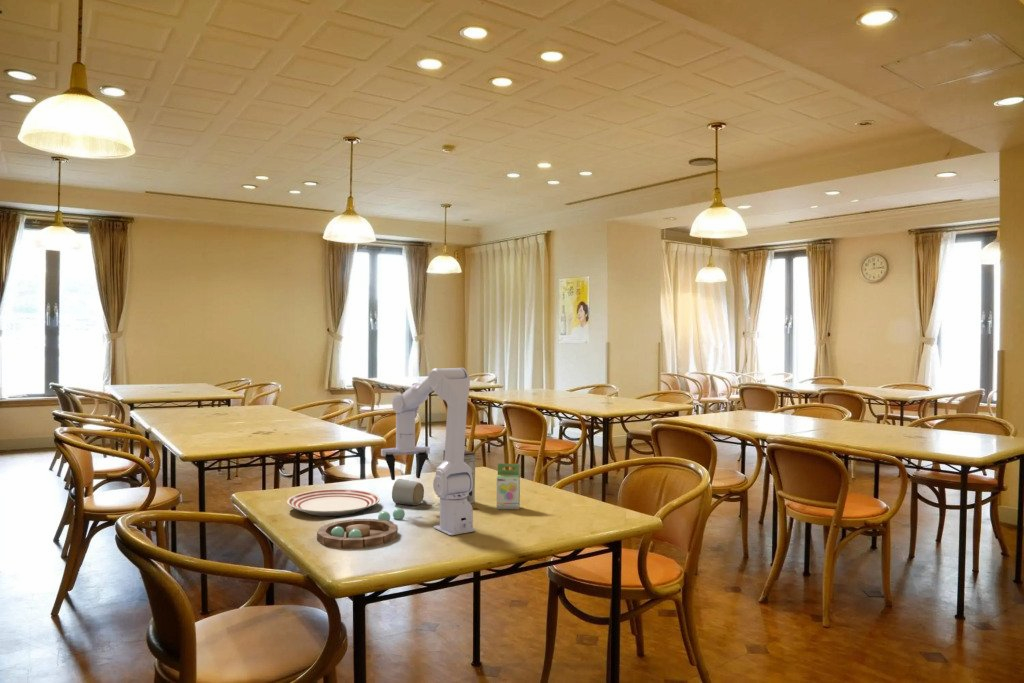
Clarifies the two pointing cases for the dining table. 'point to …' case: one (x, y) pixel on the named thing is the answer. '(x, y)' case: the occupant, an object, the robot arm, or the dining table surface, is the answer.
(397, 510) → the bead
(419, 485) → the ceramic mug
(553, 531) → the dining table surface
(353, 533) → the seated bead
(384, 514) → the bead
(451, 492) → the robot arm
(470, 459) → the coffee box
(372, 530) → the ring tray
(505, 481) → the ink box
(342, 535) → the seated bead
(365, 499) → the dinner plate
